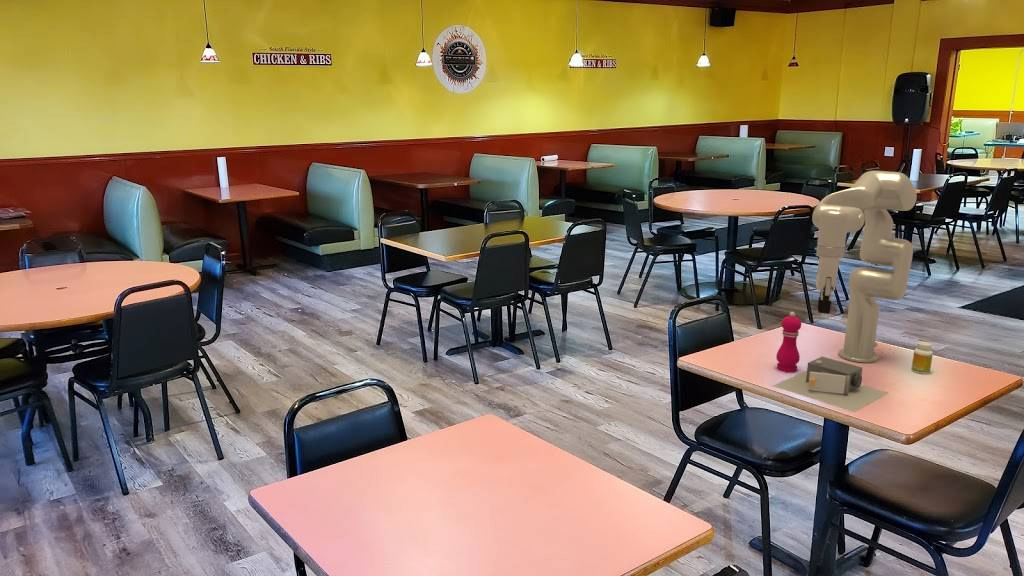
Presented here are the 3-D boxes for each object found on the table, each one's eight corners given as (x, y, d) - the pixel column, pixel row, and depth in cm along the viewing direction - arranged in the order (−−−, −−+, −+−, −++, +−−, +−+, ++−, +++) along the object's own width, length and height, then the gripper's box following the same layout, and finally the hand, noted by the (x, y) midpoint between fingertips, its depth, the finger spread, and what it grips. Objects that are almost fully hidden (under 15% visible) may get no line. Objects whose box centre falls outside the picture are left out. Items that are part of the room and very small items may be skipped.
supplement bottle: (925, 375, 247) (930, 347, 244) (908, 371, 250) (912, 343, 248) (932, 371, 250) (936, 343, 248) (915, 367, 254) (919, 339, 251)
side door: (808, 389, 233) (810, 370, 231) (847, 394, 229) (850, 375, 228) (808, 391, 231) (810, 373, 229) (848, 396, 227) (850, 378, 226)
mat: (808, 370, 250) (808, 369, 250) (888, 394, 231) (889, 392, 231) (772, 386, 236) (772, 385, 236) (854, 413, 217) (854, 411, 217)
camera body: (820, 375, 245) (822, 354, 243) (864, 388, 235) (867, 366, 233) (805, 382, 239) (807, 360, 237) (850, 395, 229) (853, 373, 227)
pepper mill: (801, 374, 247) (807, 315, 242) (779, 373, 247) (785, 314, 242) (793, 366, 254) (800, 308, 249) (772, 366, 254) (777, 308, 249)
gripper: (815, 245, 232) (808, 303, 236) (818, 255, 217) (811, 317, 222) (841, 247, 230) (834, 305, 234) (846, 257, 215) (839, 320, 219)
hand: (823, 311), depth 228 cm, fingers closed
